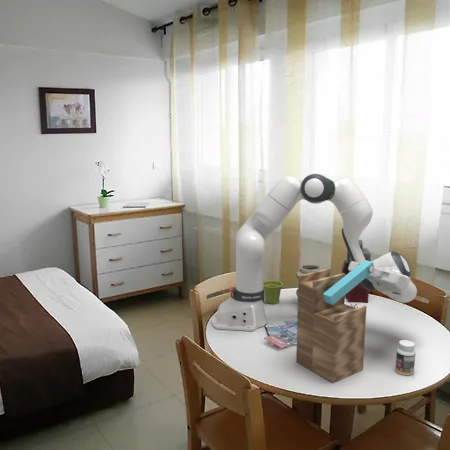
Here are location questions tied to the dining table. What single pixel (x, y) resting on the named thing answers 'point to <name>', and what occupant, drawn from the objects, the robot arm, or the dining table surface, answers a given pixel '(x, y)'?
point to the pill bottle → (405, 357)
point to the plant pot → (272, 291)
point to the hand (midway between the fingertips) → (363, 267)
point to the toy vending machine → (358, 291)
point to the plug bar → (347, 282)
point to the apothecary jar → (307, 271)
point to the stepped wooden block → (328, 329)
